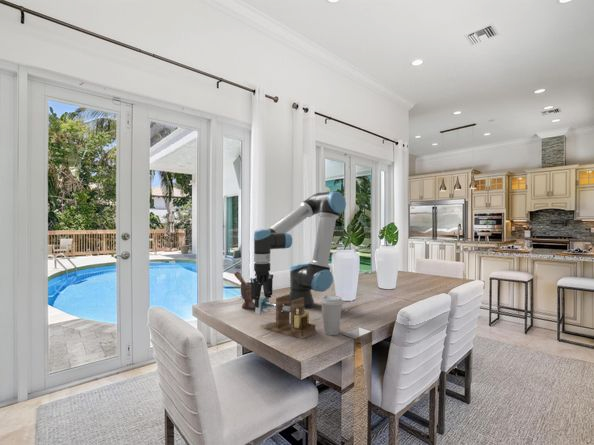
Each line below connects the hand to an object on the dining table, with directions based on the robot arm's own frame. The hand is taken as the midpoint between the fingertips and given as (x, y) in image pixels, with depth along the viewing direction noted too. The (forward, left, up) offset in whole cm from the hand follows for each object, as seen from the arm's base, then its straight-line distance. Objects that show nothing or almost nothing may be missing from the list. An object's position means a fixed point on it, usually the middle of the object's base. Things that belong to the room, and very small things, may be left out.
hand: (262, 312), depth 145 cm
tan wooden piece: (+22, 0, 0) cm, 23 cm away
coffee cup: (+32, +9, -5) cm, 34 cm away
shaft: (+8, 0, +2) cm, 9 cm away
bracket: (+16, 0, -5) cm, 17 cm away
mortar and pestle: (-24, +13, -5) cm, 27 cm away
